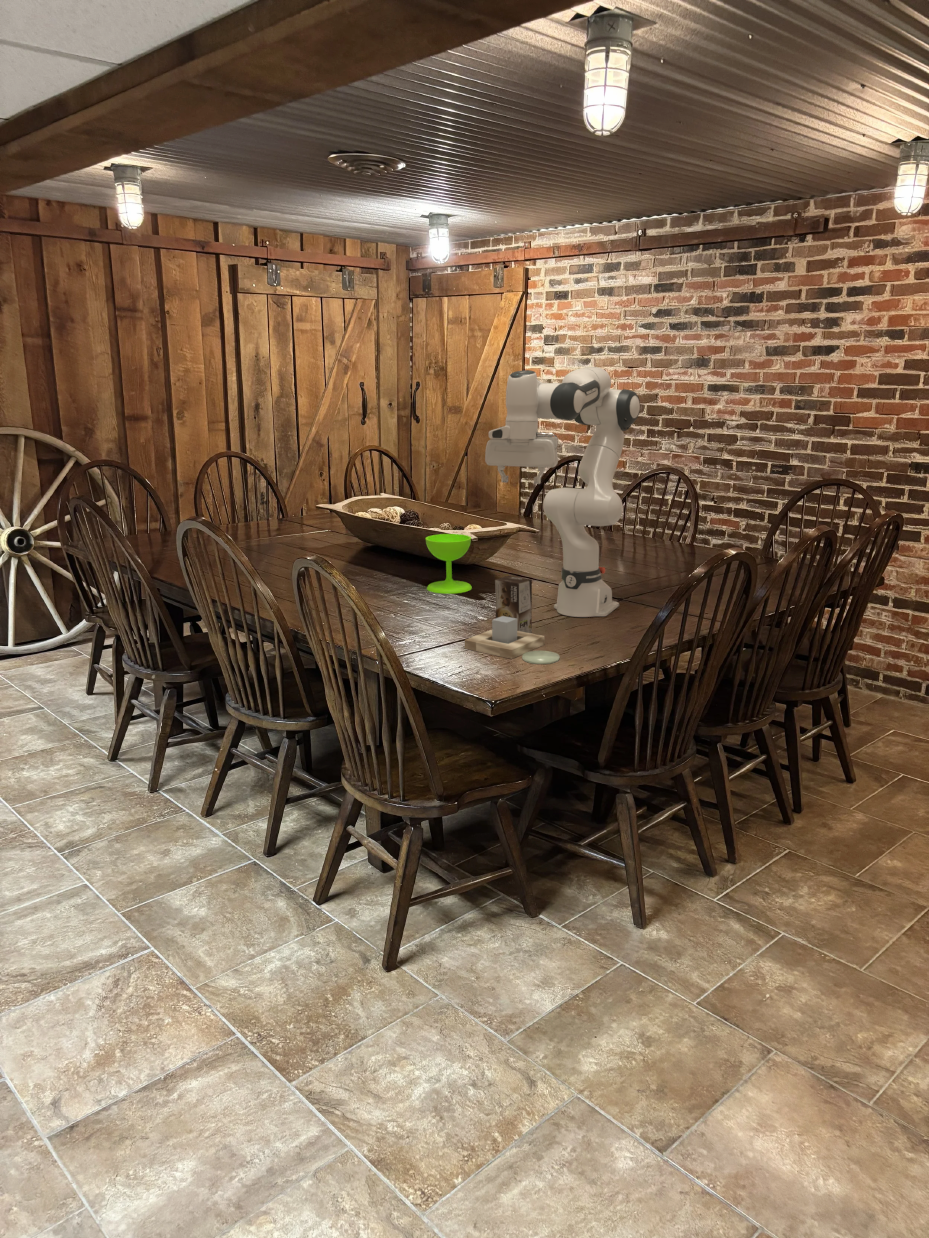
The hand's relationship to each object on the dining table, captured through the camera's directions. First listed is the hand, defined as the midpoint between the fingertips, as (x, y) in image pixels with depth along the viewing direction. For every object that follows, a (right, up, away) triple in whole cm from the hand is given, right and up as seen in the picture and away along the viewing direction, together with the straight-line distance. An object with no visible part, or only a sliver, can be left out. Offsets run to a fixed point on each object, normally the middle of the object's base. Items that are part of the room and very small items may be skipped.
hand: (520, 483), depth 253 cm
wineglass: (-21, -27, +70) cm, 78 cm away
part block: (-4, -45, +3) cm, 46 cm away
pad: (+5, -48, -8) cm, 49 cm away
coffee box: (-1, -42, +16) cm, 45 cm away
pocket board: (-4, -45, +3) cm, 46 cm away
